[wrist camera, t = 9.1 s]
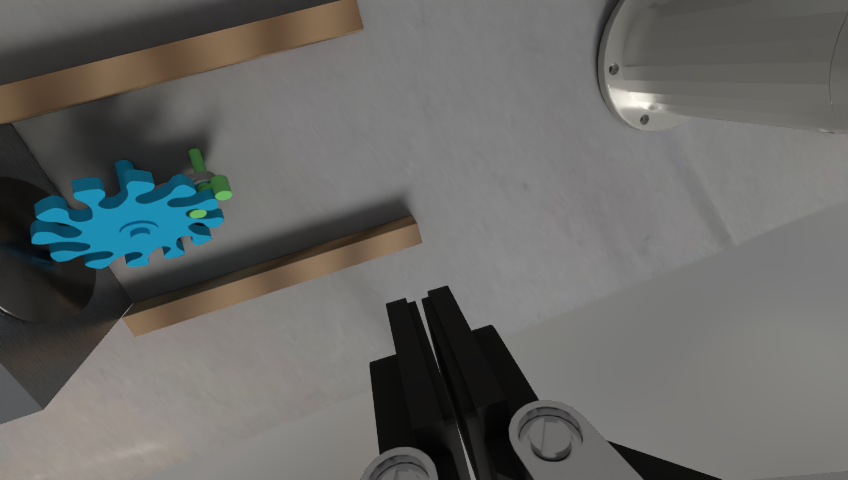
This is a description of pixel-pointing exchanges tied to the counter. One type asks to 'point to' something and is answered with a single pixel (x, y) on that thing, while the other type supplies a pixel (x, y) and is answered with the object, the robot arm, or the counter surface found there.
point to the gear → (132, 216)
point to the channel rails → (195, 59)
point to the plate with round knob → (42, 294)
